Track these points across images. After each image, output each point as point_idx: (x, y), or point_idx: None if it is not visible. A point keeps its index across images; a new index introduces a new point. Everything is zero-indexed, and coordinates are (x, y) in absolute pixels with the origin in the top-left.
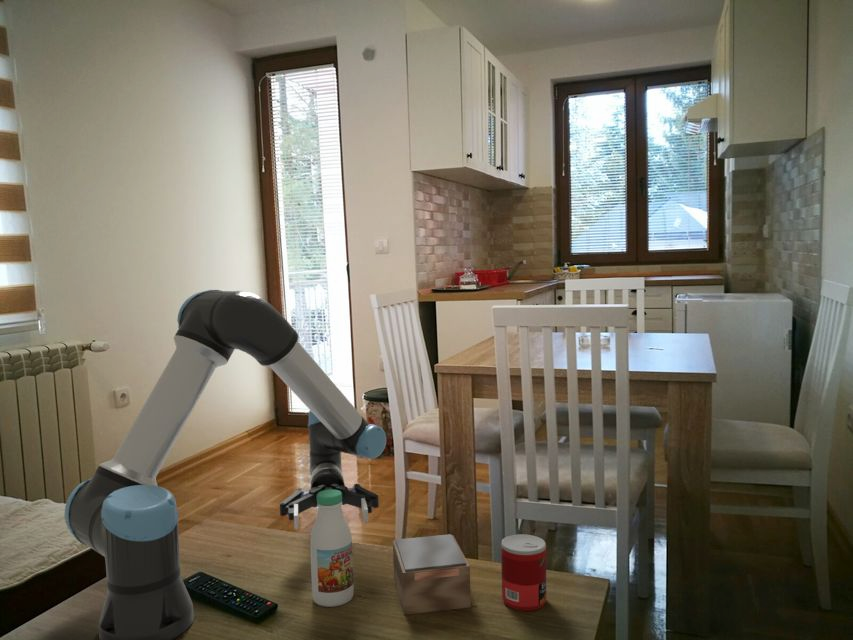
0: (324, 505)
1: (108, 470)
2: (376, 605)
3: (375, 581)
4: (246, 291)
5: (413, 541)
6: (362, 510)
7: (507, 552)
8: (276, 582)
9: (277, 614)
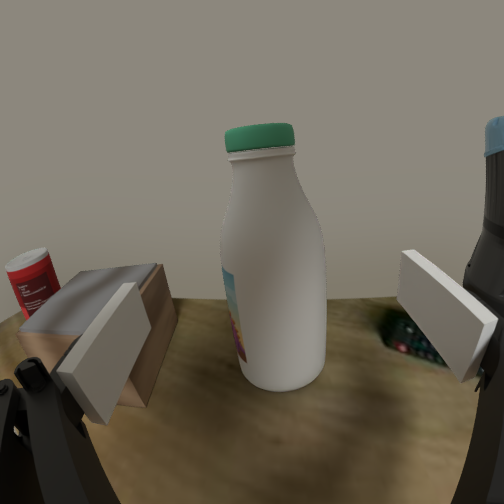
0: (279, 168)
1: None
2: (208, 341)
3: (186, 406)
4: None
5: (84, 319)
6: (116, 366)
7: (48, 255)
8: (426, 408)
9: (371, 325)
